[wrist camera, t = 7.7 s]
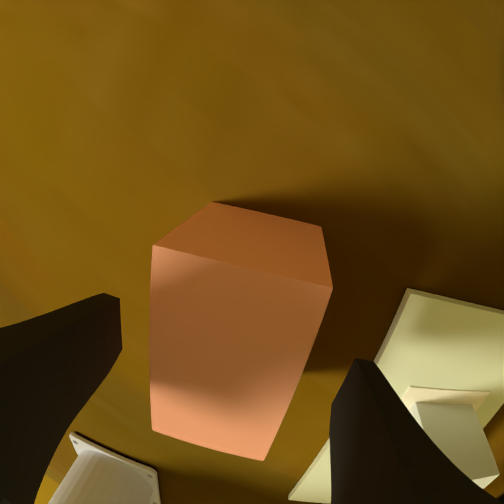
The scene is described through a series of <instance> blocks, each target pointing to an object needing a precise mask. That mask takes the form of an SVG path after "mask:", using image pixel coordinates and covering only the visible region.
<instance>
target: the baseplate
mask: <svg viewBox="0 0 504 504" xmlns="http://www.w3.org/2000/svg"><path fill="white" fill-rule="evenodd" d="M374 362H375V364H376V365H377V366H378V368H379V369H380V370H381V372H382V373H383V375H384V376H385V377H386V379H387V380H388V382H389V383H390V385H391V386H392V387H393V389H394V390H395V392H396V393H397V395H398V396H399V398H400V399H401V400H402V402H403V403H404V405H405V406H406V407H407V409H408V410H410V409H411V407H412V406H413V404H414V403H415V402H423V403H440V404H472V406H473V408H474V410H475V412H476V415H477V417H478V419H479V422H480V424H481V426H482V429H483V428H484V427H485V426H486V425H487V423H488V422H489V421H490V420H491V419H492V417H493V416H494V415H495V414H496V412H497V411H498V410H499V409H500V407H501V406H502V405H503V403H504V310H499V309H495V308H491V307H487V306H483V305H478V304H474V303H470V302H466V301H461V300H457V299H453V298H449V297H444V296H440V295H436V294H432V293H427V292H423V291H419V290H415V289H410V288H407V289H406V291H405V294H404V296H403V298H402V301H401V303H400V306H399V308H398V310H397V312H396V315H395V317H394V319H393V322H392V324H391V326H390V328H389V330H388V332H387V335H386V337H385V339H384V341H383V343H382V345H381V347H380V349H379V351H378V353H377V355H376V357H375V359H374ZM288 500H295V501H304V502H315V503H329V504H331V465H330V437H329V439H328V440H327V442H326V444H325V445H324V447H323V448H322V450H321V451H320V452H319V454H318V455H317V457H316V458H315V460H314V461H313V463H312V464H311V465H310V467H309V468H308V470H307V471H306V472H305V474H304V475H303V476H302V478H301V479H300V480H299V482H298V483H297V484H296V486H295V487H294V488H293V490H292V491H291V492H290V494H289V497H288Z"/></svg>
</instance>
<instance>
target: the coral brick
mask: <svg viewBox="0 0 504 504" xmlns="http://www.w3.org/2000/svg"><path fill="white" fill-rule="evenodd" d="M332 290H333V285H332V279H331V274H330V268H329V263H328V258H327V253H326V248H325V243H324V238H323V233H322V228H321V226H318V225H313V224H309V223H305V222H301V221H297V220H292V219H288V218H284V217H280V216H275V215H271V214H266V213H262V212H258V211H253V210H249V209H244V208H239V207H235V206H230V205H225V204H221V203H216V202H211V203H210V204H208V205H207V206H205V207H204V208H203V209H201V210H200V211H198V212H197V213H196V214H194V215H193V216H191V217H190V218H189V219H187V220H186V221H184V222H183V223H182V224H180V225H179V226H178V227H176V228H175V229H174V230H172V231H171V232H169V233H168V234H167V235H165V236H164V237H163V238H161V239H160V240H159V241H157V242H156V243H155V244H153V251H152V267H151V287H150V321H149V365H150V398H151V417H152V430H154V431H156V432H159V433H162V434H165V435H168V436H171V437H174V438H177V439H180V440H183V441H186V442H189V443H193V444H196V445H199V446H203V447H206V448H210V449H214V450H218V451H221V452H225V453H229V454H234V455H238V456H242V457H247V458H251V459H256V460H261V461H264V459H265V457H266V455H267V453H268V451H269V448H270V446H271V444H272V442H273V440H274V438H275V436H276V433H277V431H278V429H279V427H280V424H281V422H282V420H283V418H284V415H285V413H286V411H287V408H288V406H289V404H290V401H291V399H292V397H293V394H294V392H295V389H296V387H297V385H298V382H299V380H300V377H301V375H302V372H303V370H304V367H305V365H306V362H307V359H308V357H309V354H310V352H311V349H312V346H313V344H314V341H315V338H316V335H317V333H318V330H319V327H320V324H321V322H322V319H323V316H324V313H325V310H326V307H327V304H328V302H329V299H330V296H331V293H332Z"/></svg>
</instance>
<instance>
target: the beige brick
mask: <svg viewBox="0 0 504 504" xmlns="http://www.w3.org/2000/svg"><path fill="white" fill-rule="evenodd" d="M409 412H410V413H411V414H412V416H413V417H414V418H415V420H416V421H417V422H418V424H419V425H420V426H421V427H422V429H423V430H424V431H425V432H426V434H427V435H428V436H429V437H430V439H431V440H432V441H433V442H434V443H435V444H436V446H437V447H438V448H439V449H440V450H441V451H442V452H443V453H444V454H445V455H446V456H447V457H448V458H449V459H450V460H451V462H452V463H453V464H454V465H455V466H457V467H458V468H459V469H460V470H461V471H462V472H463V473H464V474H465V475H466V476H468V477H469V478H470V479H471V480H472V481H473V482H475V483H476V484H477V485H478V486H479V487H481V488H482V489H484V488H485V487H486V486H487V485H488V484H490V483H491V482H492V481H493V480H494V479H495V478H496V477H498V476H499V475H500V473H499V470H498V467H497V464H496V461H495V459H494V456H493V453H492V451H491V448H490V446H489V443H488V441H487V438H486V436H485V433H484V431H483V429H482V426H481V424H480V422H479V419H478V417H477V415H476V412H475V410H474V408H473V406H472V404H440V403H423V402H415V403H414V404H413V406H412V407H411V409H410V410H409Z"/></svg>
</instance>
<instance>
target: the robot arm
mask: <svg viewBox="0 0 504 504" xmlns="http://www.w3.org/2000/svg"><path fill="white" fill-rule="evenodd" d="M121 350H122V337H121V318H120V298H117V297H114V296H111V295H108V294H105V293H102V294H98V295H95V296H92V297H89V298H86V299H84V300H81V301H78V302H76V303H73V304H71V305H68V306H65V307H63V308H60V309H57V310H55V311H52V312H49V313H47V314H44V315H41V316H38V317H35V318H32V319H29V320H26V321H23V322H20V323H17V324H13V325H10V326H6V327H2V328H0V504H34V502H35V499H36V495H37V492H38V490H39V487H40V485H41V482H42V480H43V477H44V475H45V472H46V470H47V468H48V465H49V463H50V461H51V459H52V457H53V455H54V453H55V451H56V449H57V447H58V445H59V443H60V441H61V440H62V438H63V436H64V434H65V432H66V430H67V429H68V427H69V426H70V424H71V423H72V421H73V420H74V418H75V417H76V416H77V414H78V413H79V412H80V410H81V409H82V408H83V406H84V405H85V404H86V402H87V401H88V400H89V398H90V397H91V396H92V395H93V393H94V392H95V391H96V389H97V388H98V387H99V385H100V384H101V383H102V381H103V380H104V379H105V377H106V376H107V375H108V373H109V372H110V370H111V368H112V367H113V365H114V363H115V361H116V360H117V358H118V356H119V354H120V352H121ZM69 436H70V439H71V441H72V443H73V446H74V448H75V450H76V452H77V454H78V457H77V459H76V460H75V462H74V463H73V465H72V467H71V468H70V470H69V471H68V473H67V474H66V476H65V478H64V479H63V481H62V482H61V484H60V486H59V487H58V489H57V490H56V492H55V494H54V495H53V497H52V498H51V500H50V502H49V503H48V504H161V501H160V494H159V486H158V477H157V472H156V470H154V469H153V468H150V467H148V466H145V465H142V464H140V463H137V462H135V461H132V460H130V459H128V458H125V457H123V456H121V455H118V454H116V453H114V452H112V451H109V450H107V449H105V448H103V447H101V446H99V445H97V444H95V443H93V442H90V441H89V440H87V439H85V438H83V437H81V436H79V435H77V434H75V433H71V434H70V435H69ZM329 437H330V465H331V504H503V503H502V502H500V501H499V500H497V499H496V498H494V497H493V496H492V495H490V494H489V493H487V492H486V491H485V490H483V489H482V488H481V487H479V486H478V485H477V484H476V483H475V482H473V481H472V480H471V479H470V478H469V477H468V476H466V475H465V474H464V473H463V472H462V471H461V470H460V469H459V468H458V467H457V466H455V465H454V464H453V463H452V462H451V460H450V459H449V458H448V457H447V456H446V455H445V454H444V453H443V452H442V451H441V450H440V449H439V448H438V447H437V446H436V444H435V443H434V442H433V441H432V440H431V439H430V437H429V436H428V435H427V434H426V432H425V431H424V430H423V429H422V427H421V426H420V425H419V424H418V422H417V421H416V420H415V418H414V417H413V416H412V414H411V413H410V412H409V410H408V409H407V407H406V406H405V405H404V403H403V402H402V400H401V399H400V398H399V396H398V395H397V393H396V392H395V390H394V389H393V387H392V386H391V385H390V383H389V382H388V380H387V379H386V377H385V376H384V375H383V373H382V372H381V370H380V369H379V368H378V366H377V365H376V364H375V362H374V361H368V360H362V359H356V358H355V360H354V362H353V364H352V366H351V368H350V370H349V372H348V374H347V376H346V378H345V380H344V382H343V384H342V386H341V388H340V390H339V391H338V393H337V395H336V397H335V399H334V401H333V403H332V407H331V418H330V431H329Z"/></svg>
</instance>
